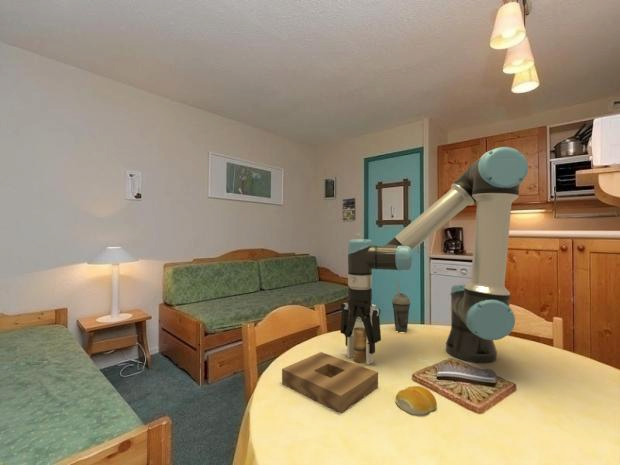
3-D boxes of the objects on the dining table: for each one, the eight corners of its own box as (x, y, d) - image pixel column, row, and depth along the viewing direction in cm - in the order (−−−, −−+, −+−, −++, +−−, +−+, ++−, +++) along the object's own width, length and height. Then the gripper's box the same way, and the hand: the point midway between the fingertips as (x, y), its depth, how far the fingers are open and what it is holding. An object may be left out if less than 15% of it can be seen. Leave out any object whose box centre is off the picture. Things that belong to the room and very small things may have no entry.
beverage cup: (411, 334, 122) (411, 284, 122) (392, 333, 123) (392, 284, 123) (409, 329, 129) (409, 281, 129) (391, 328, 130) (391, 281, 130)
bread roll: (442, 407, 71) (442, 390, 71) (418, 420, 66) (418, 402, 66) (413, 392, 78) (413, 376, 78) (389, 402, 73) (389, 386, 73)
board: (378, 387, 80) (378, 372, 80) (340, 413, 68) (340, 395, 68) (321, 364, 94) (321, 351, 94) (282, 383, 82) (281, 368, 82)
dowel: (369, 360, 97) (369, 329, 97) (362, 364, 94) (362, 332, 94) (358, 356, 100) (358, 326, 100) (351, 360, 97) (351, 329, 97)
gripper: (328, 285, 101) (328, 354, 101) (380, 293, 88) (380, 373, 88) (342, 282, 106) (342, 348, 106) (393, 289, 93) (393, 365, 93)
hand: (359, 359), depth 97 cm, fingers open, 6 cm apart
